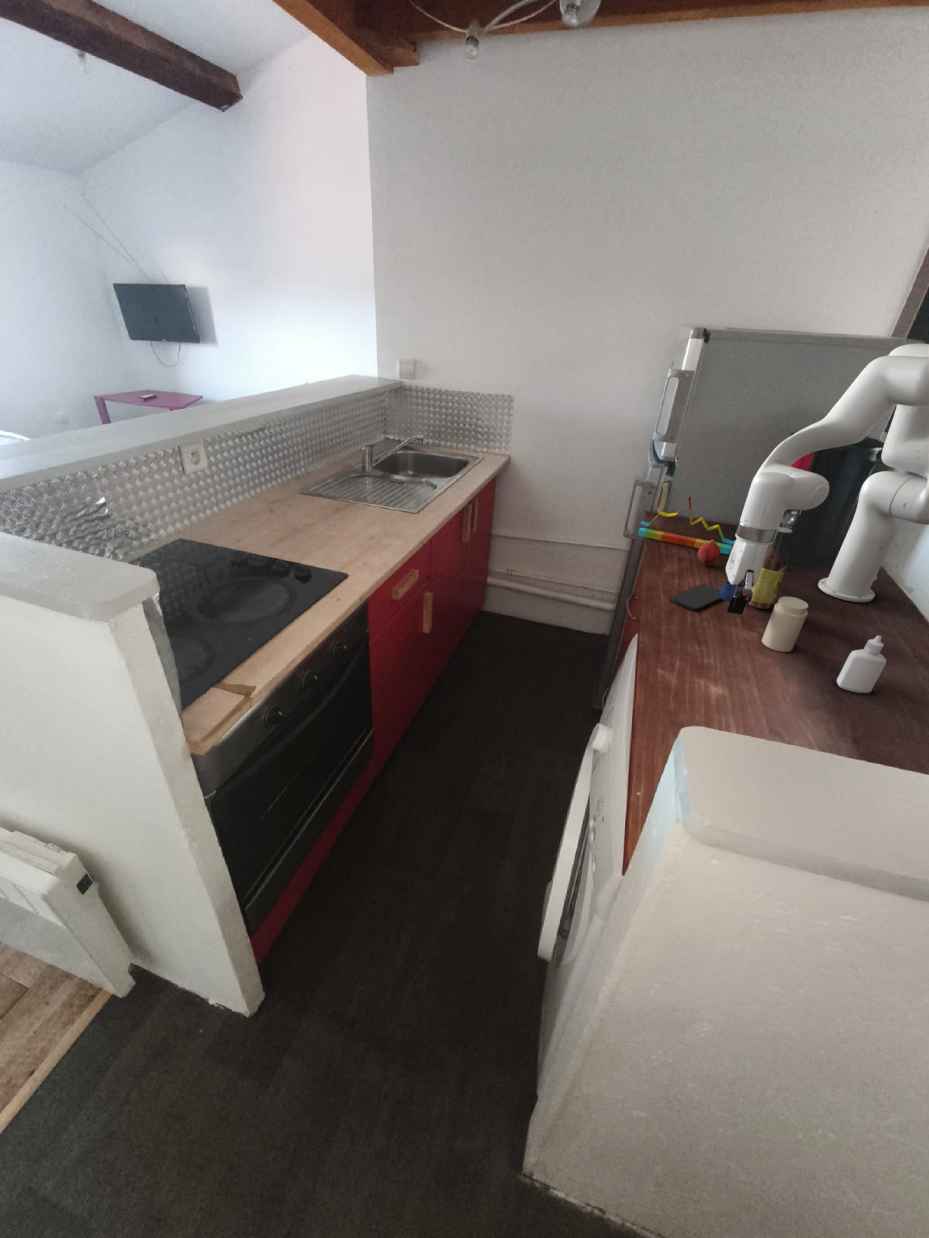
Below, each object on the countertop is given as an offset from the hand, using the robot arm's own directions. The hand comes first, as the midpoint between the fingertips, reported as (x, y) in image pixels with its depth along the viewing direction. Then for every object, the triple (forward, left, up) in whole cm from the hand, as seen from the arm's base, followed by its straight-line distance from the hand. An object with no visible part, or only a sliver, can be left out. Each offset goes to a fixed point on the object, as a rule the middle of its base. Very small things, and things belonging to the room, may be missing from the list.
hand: (732, 604), depth 118 cm
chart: (-32, -40, -5) cm, 51 cm away
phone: (-5, -12, -5) cm, 14 cm away
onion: (-24, -25, -5) cm, 35 cm away
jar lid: (0, 0, +3) cm, 3 cm away
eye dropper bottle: (-2, +28, -5) cm, 28 cm away
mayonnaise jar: (-3, +11, -5) cm, 13 cm away
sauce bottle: (-16, -3, -5) cm, 17 cm away
